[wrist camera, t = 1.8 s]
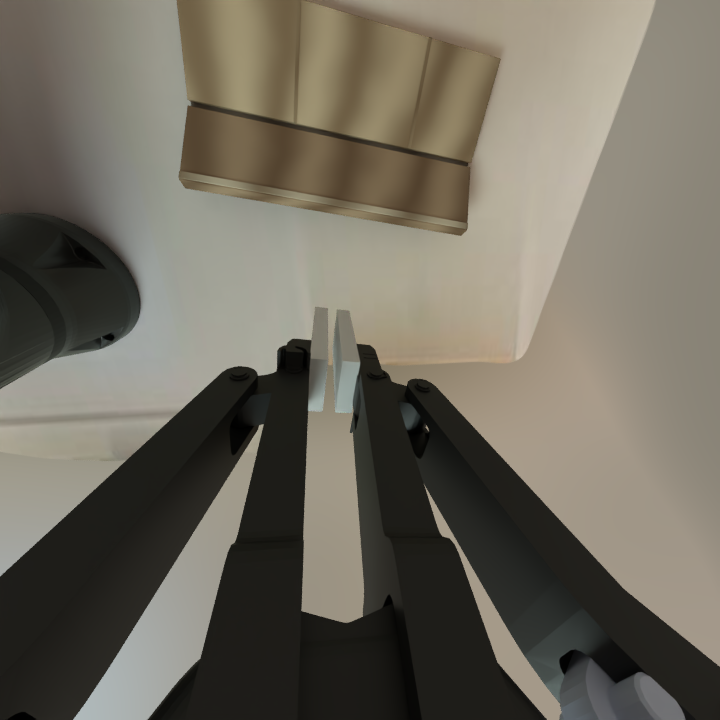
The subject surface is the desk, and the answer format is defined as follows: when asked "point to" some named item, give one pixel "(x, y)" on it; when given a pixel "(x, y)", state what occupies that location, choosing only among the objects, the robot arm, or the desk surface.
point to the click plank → (321, 173)
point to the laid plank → (335, 75)
